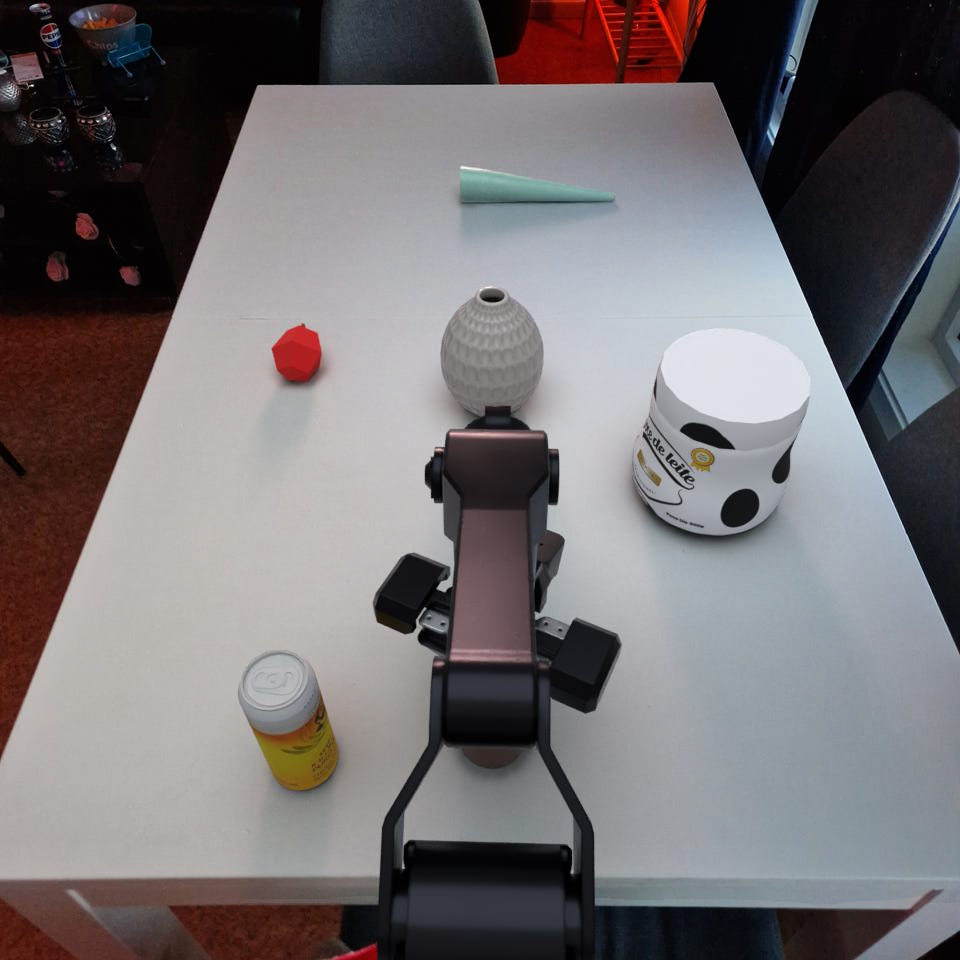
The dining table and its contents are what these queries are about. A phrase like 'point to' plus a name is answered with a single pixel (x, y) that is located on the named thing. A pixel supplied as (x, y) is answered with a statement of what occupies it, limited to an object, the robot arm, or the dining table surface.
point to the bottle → (491, 756)
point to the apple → (297, 353)
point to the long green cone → (520, 188)
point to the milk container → (720, 431)
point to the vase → (491, 352)
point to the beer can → (288, 718)
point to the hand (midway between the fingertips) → (494, 682)
